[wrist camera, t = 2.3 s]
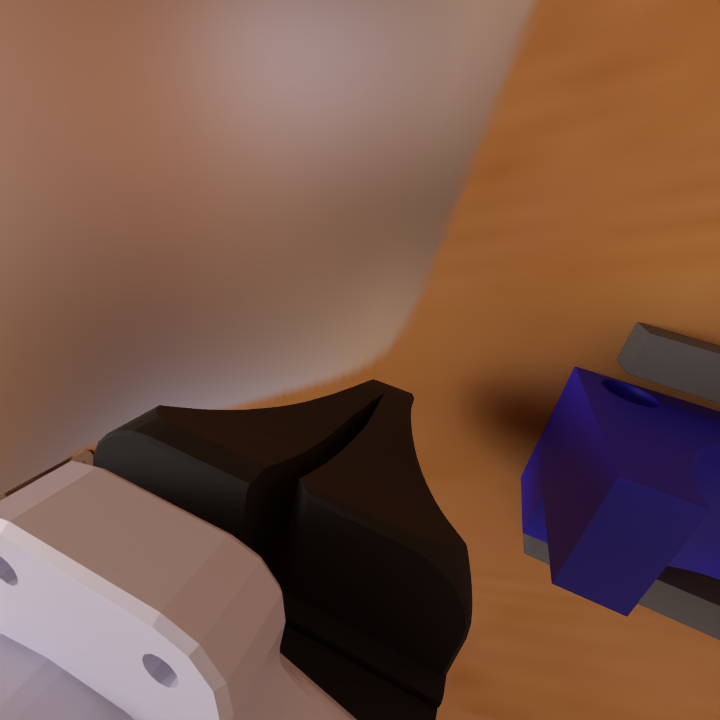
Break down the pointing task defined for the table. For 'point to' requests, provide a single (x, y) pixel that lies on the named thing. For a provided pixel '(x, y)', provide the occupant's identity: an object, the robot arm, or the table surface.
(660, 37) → the table surface
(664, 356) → the guide channel
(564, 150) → the table surface
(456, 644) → the robot arm
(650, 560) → the cable clip
